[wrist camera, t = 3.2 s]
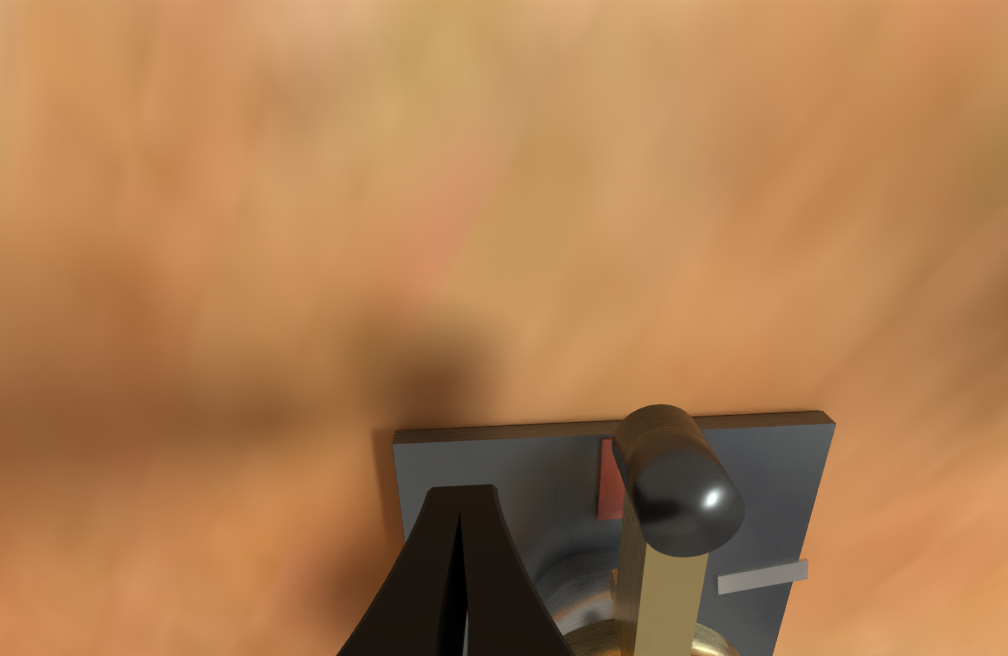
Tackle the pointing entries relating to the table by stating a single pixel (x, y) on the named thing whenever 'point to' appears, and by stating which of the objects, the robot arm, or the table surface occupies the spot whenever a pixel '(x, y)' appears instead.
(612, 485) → the dark grey plate
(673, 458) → the brass lever handle
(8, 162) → the table surface
